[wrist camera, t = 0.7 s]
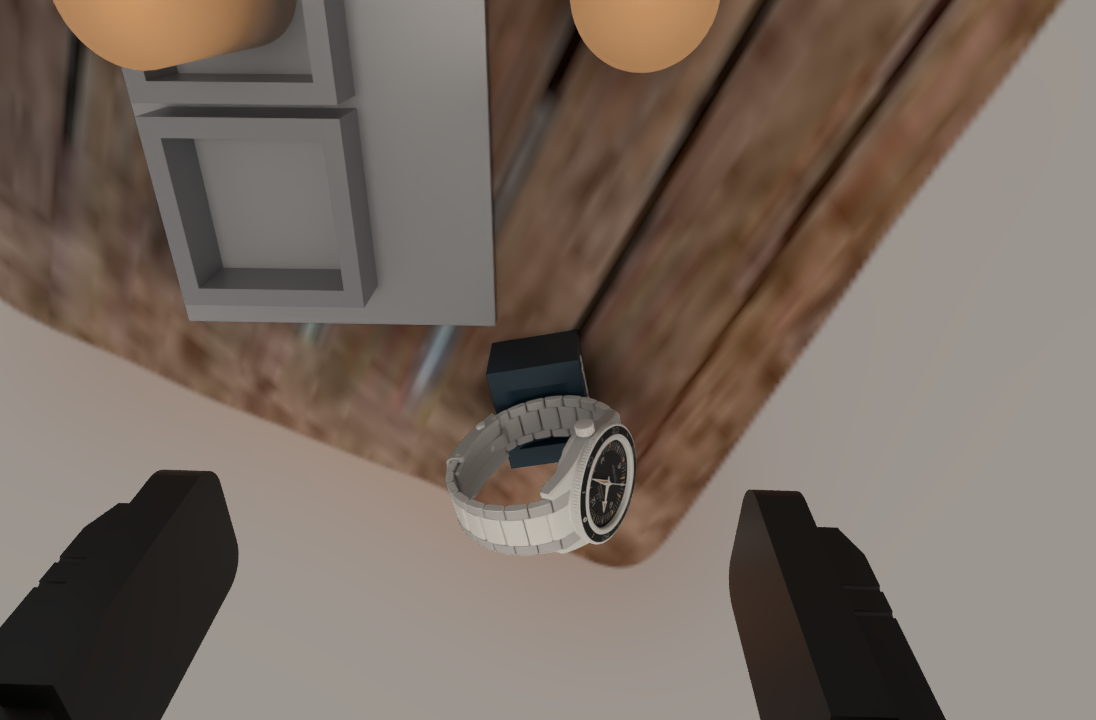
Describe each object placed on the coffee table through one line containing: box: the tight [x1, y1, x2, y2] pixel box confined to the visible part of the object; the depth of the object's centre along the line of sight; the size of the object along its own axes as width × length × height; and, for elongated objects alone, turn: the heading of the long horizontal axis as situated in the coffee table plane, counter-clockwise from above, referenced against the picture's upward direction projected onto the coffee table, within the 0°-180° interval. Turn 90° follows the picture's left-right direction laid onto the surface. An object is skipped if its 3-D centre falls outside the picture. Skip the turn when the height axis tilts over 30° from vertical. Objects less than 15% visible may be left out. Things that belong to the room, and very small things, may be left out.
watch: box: [446, 330, 636, 555], centre depth 31 cm, size 6×8×11 cm
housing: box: [53, 0, 496, 326], centre depth 26 cm, size 19×15×9 cm
